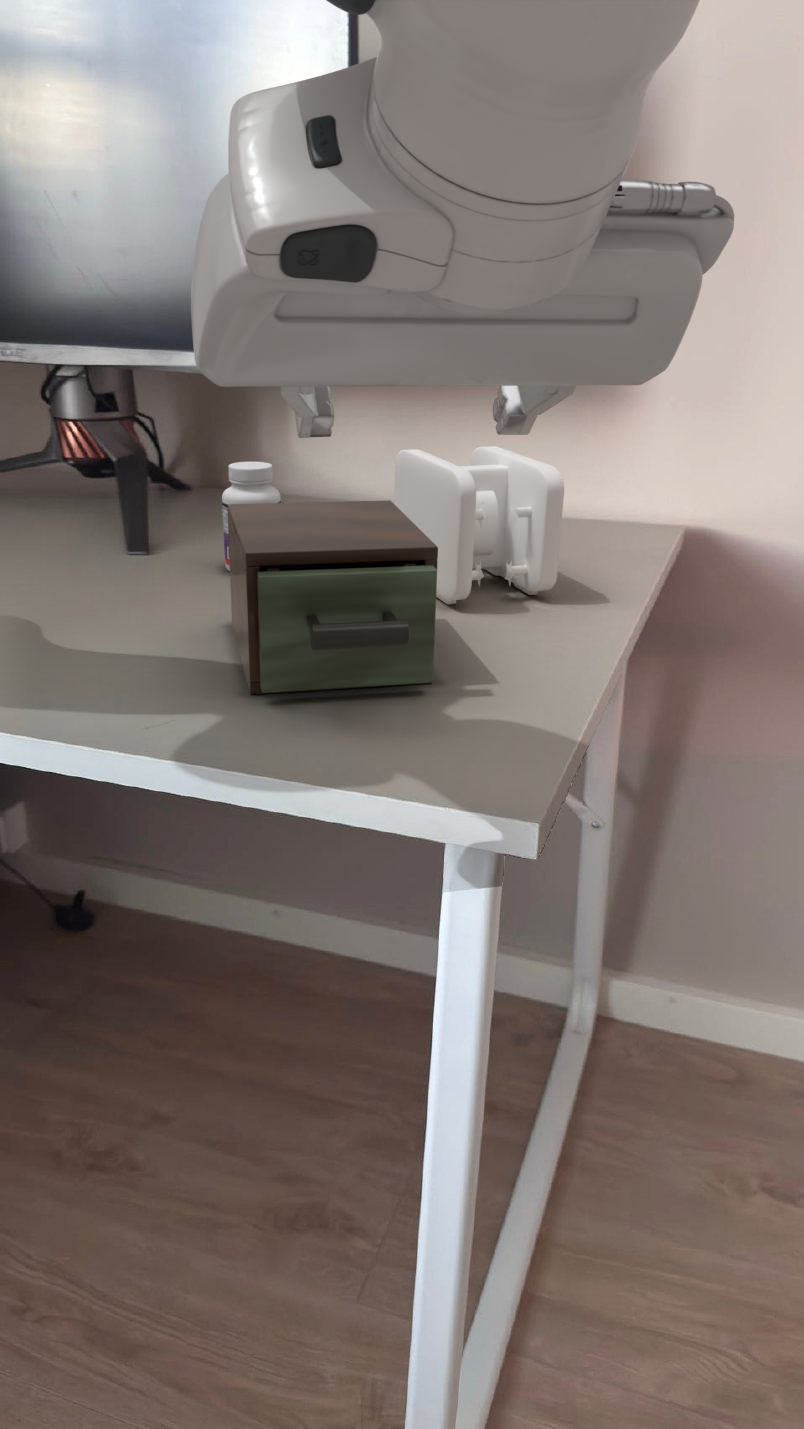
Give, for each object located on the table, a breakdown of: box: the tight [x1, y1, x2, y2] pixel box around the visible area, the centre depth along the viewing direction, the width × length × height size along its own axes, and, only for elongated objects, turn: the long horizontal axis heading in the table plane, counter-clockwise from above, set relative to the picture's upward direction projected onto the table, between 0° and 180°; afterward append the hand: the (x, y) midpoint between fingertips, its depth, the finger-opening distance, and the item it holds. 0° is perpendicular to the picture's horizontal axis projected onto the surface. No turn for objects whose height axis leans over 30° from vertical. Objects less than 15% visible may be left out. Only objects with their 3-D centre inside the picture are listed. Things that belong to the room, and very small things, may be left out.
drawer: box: [257, 561, 437, 694], centre depth 74 cm, size 18×12×8 cm, turn 13°
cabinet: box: [227, 499, 438, 695], centre depth 79 cm, size 15×13×10 cm
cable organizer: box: [393, 445, 565, 605], centre depth 96 cm, size 15×11×12 cm
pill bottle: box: [221, 461, 282, 572], centre depth 100 cm, size 5×5×10 cm
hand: (412, 424), depth 50 cm, fingers open, 8 cm apart
